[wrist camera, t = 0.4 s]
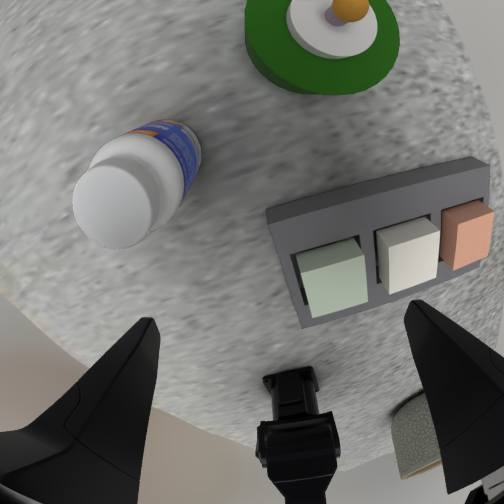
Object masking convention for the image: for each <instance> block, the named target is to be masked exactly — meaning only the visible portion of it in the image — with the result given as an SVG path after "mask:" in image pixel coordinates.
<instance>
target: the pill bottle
mask: <svg viewBox="0 0 504 504" xmlns="http://www.w3.org/2000/svg"><path fill="white" fill-rule="evenodd" d="M200 164H201V147H200V144H199V141H198V139H197V137H196V136H195V134H194V133H193V132H192V131H191V130H190V129H189V128H188V127H187V126H185V125H184V124H182V123H180V122H177V121H173V120H159V121H155V122H152V123H149V124H146V125H144V126H142V127H139V128H137V129H134V130H132V131H130V132H127V133H125V134H123V135H121V136H119V137H116V138H114V139H113V140H111V141H109V142H108V143H106V144H105V145H104V146H103V147H101V148H100V149H99V151H98V152H97V153H96V154H95V156H94V158H93V159H92V161H91V164H90V167H89V170H88V171H87V172H85V173H84V174H83V175H82V176H81V178H80V179H79V180H78V182H77V184H76V186H75V189H74V193H73V200H72V201H73V211H74V214H75V218H76V220H77V222H78V224H79V226H80V227H81V229H82V230H83V232H84V233H85V234H86V235H87V236H88V237H89V238H90V239H92V240H93V241H94V242H96V243H97V244H99V245H101V246H104V247H107V248H111V249H126V248H129V247H132V246H134V245H136V244H137V243H139V242H140V241H141V240H142V239H143V238H144V237H145V236H146V234H147V233H148V232H152V231H154V230H156V229H158V228H160V227H162V226H163V225H164V224H166V223H167V222H168V221H169V220H170V219H171V218H172V217H173V215H174V214H175V212H176V211H177V209H178V207H179V206H180V204H181V202H182V200H183V198H184V196H185V194H186V193H187V191H188V189H189V187H190V185H191V183H192V182H193V180H194V178H195V177H196V175H197V173H198V170H199V167H200Z"/></svg>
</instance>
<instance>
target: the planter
mask: <svg viewBox="0 0 504 504" xmlns="http://www.w3.org/2000/svg"><path fill="white" fill-rule="evenodd" d="M391 434H392V440H393V444H394V449H395V453H396V458H397V463H398V468H399V473H400V477H401V480H404V479H408V478H411V477H414V476H417V475H420V474H422V473H425V472H427V471H429V470H432V469H434V468H436V467H438V466H440V465H442V460H441V455H440V449H439V445H438V441H437V436H436V432H435V428H434V424H433V421H432V417H431V413H430V410H429V406H428V403H427V399H426V396H425V392H423V393H421V394H419V395H418V396H416V397H414V398H413V399H411V400H410V401H408V402H407V403H406V404H404V405H403V406H402V407H401V408H400V410H399V411H398V412H397V414H396V415H395V417H394V419H393V422H392V425H391Z"/></svg>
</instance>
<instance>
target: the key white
mask: <svg viewBox="0 0 504 504" xmlns="http://www.w3.org/2000/svg"><path fill="white" fill-rule="evenodd" d="M376 238H377V250H378V266H379V277H380V279H381V281H382V283H383V284H384V286H385V288H386V289H387V291H388V293H389V295H390V294H393V293H395V292H398V291H401V290H404V289H407V288H410V287H412V286H415V285H418V284H420V283H423V282H426V281H428V280H431V279H434V278H436V274H437V265H438V254H439V241H440V230H439V229H438V228H437V227H436V226H435V225H434V224H432V223H431V222H430V221H429V220H428V219H427V218H426V217H425V216H424V217H421V218H417V219H414V220H411V221H408V222H404V223H401V224H398V225H394V226H391V227H388V228H384V229H381V230H378V231H376Z"/></svg>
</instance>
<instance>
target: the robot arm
mask: <svg viewBox="0 0 504 504" xmlns="http://www.w3.org/2000/svg"><path fill="white" fill-rule="evenodd" d="M404 324H405V328H406V332H407V336H408V339H409V343H410V347H411V352H412V355H413V359H414V362H415V365H416V368H417V371H418V374H419V377H420V380H421V383H422V386H423V389H424V392H425V396H426V399H427V403H428V406H429V410H430V413H431V417H432V421H433V424H434V428H435V432H436V436H437V441H438V445H439V449H440V455H441V460H442V465H443V470H444V475H445V482H446V488H447V493H448V494H451V493H453V492H455V491H458V490H460V489H462V488H464V487H466V486H468V485H470V484H473V483H474V482H476V481H478V480H480V479H481V481H482V485H480V486H478V487H477V488H475V489H474V490H472V491H471V492H470V493H469V495H468V497H467V500H466V502H465V504H504V358H503V357H502V356H501V355H500V354H498V353H497V352H495V351H494V350H493V349H491V348H490V347H488V346H487V345H486V344H485V343H483V342H482V341H480V340H479V339H478V338H476V337H475V336H474V335H472V334H471V333H469V332H468V331H466V330H465V329H464V328H462V327H461V326H459V325H458V324H457V323H455V322H454V321H452V320H451V319H449V318H448V317H446V316H445V315H443V314H442V313H441V312H439V311H438V310H436V309H435V308H433V307H432V306H430V305H429V304H427V303H426V302H424V301H423V300H421V299H418V300H412V301H411V302H410V303H409V306H408V308H407V311H406V313H405V316H404ZM159 349H160V333H159V330H158V328H157V325H156V322H155V320H154V319H153V318H151V317H143V318H141V319H139V320H138V321H137V322H136V323H135V324H134V325H133V326H132V327H131V328H130V329H129V330H128V331H127V332H126V333H125V334H124V335H123V336H122V337H121V338H120V339H119V340H118V341H117V342H116V343H115V344H114V345H113V346H112V347H111V348H110V349H109V350H108V351H107V352H106V353H105V354H104V355H103V356H102V357H101V358H100V359H99V360H98V361H97V362H96V363H95V364H94V365H93V366H92V367H91V368H90V369H89V370H88V371H87V372H86V373H85V374H84V375H83V376H82V377H81V378H80V379H79V380H78V381H77V382H76V383H75V384H74V385H73V386H72V387H71V388H70V389H69V390H68V391H67V392H66V393H65V394H64V395H63V396H62V397H61V398H60V399H58V400H57V401H56V402H55V403H54V404H53V405H52V406H50V407H49V408H48V409H47V410H46V411H45V412H43V413H42V414H41V415H40V416H39V417H38V418H36V419H35V420H34V421H33V422H32V423H30V424H29V425H28V426H26V427H24V428H22V429H19V430H14V431H6V432H0V504H137V502H138V492H139V483H140V481H139V480H140V475H141V467H142V460H143V453H144V446H145V440H146V434H147V428H148V422H149V416H150V411H151V405H152V400H153V395H154V390H155V385H156V379H157V370H158V359H159ZM263 383H264V385H265V386H266V388H267V389H268V391H269V393H270V394H271V397H272V411H273V421H261V422H260V426H258V427H257V445H256V452H255V453H256V457H257V458H258V459H260V462H261V464H262V467H263V468H267V473H268V477H269V479H270V480H271V481H272V483H273V484H274V485H275V486H276V487H277V489H278V490H279V491H280V492H281V494H282V495H283V496H284V497H285V504H326V497H325V491H326V489H327V487H328V485H329V483H330V481H331V479H332V477H333V475H334V473H335V471H336V469H337V460H336V458H338V457H340V454H341V451H340V441H339V436H338V432H337V428H336V425H335V421H334V417H333V414H332V411H329V412H327V413H322V414H319V410H318V404H317V398H316V393H315V392H318V391H319V387H318V384H317V380H316V377H315V374H314V370H313V368H312V367H307V368H303V369H299V370H295V371H290V372H286V373H281V374H277V375H272V376H267V377H264V378H263Z"/></svg>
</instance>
